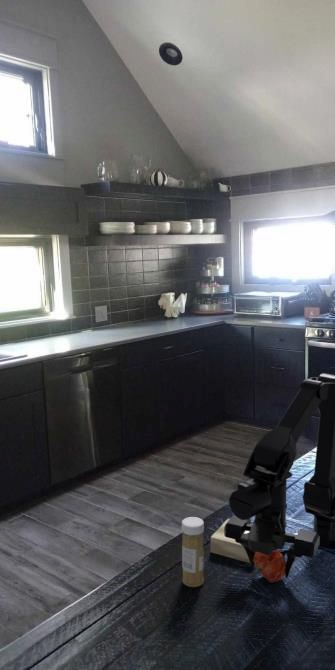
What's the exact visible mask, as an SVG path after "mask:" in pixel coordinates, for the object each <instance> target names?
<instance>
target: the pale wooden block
mask: <svg viewBox="0 0 335 670" xmlns="http://www.w3.org/2000/svg"><path fill="white" fill-rule="evenodd" d="M229 519H230V518H227V519H226V520H225V521H224V522H223V523H222V525H220V527H219V528H218V529H217V530H216V531H215V532H214V533H213V534H212V535H211V536H210V553H213V554H216V555H220V556H223V557H227V558H230V559H234V560H237V561H240V562H241V561H242V562H246V563H249V564H251V563H250V561H249V558H248V555H247V553H246V551H245V549H244V547H243V546H242V545H241V544H240V543H237V542H236V541H235V539H232V538H228V537H225V536H224V527H225V524H226V523H227V522H228V521H229ZM251 524H252V525H253V523H251Z"/></svg>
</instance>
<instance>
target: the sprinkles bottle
mask: <svg viewBox="0 0 335 670" xmlns="http://www.w3.org/2000/svg"><path fill="white" fill-rule="evenodd" d="M204 523H205V522H204V520H203V519H201V518H199V517H196V516H189V517H185V518H184V519H182V521H181V534H182V543H181V544H182V545H181V547H182V548H181V553H182V554H181V555H182V559H181V560H182V566H181V568H182V579H181V580H182V583H183V585H184V586H186V587H189V588H197V587H200V586H202V585H203V584H204V581H205V579H204V531H205V524H204Z"/></svg>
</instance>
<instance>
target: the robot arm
mask: <svg viewBox="0 0 335 670" xmlns="http://www.w3.org/2000/svg"><path fill="white" fill-rule="evenodd" d="M317 409H318V412H319V421H318V422H319V423H318V432H317V441H316V451H315V452H316V453H315V462H314V471H313V475H312V476H311V477H310V479H309V480H308V481H305V482H304V485H303V494H302V498H301V499H302V501H303V505H304V511H305V513H306V514H310V515H313V527H312V528H313V530H309V529H304V528H300V529H299V531H297V533H292V532H286V528H287V525H288V523H287V521H286V519H287V515H286V514H287V508H288V503H287V481H288V479H291V478H292V476H293V473H291V471H290V470H291V469H292V468H293V466H294V461H295V460H296V457H297V455H298V453H297V452H298V451H297V443H298V441H299V439H300V437H301V435H302V434H303V433H304V430H305V429H306V427H307V426H308V424H309V422H310V420H312V417H313V415H314V414H315V412H316V410H317ZM256 468H260V469H263V470H265V471H267V472H264V471H261V470H258V469H256ZM242 476H243V477H246V478H249V479H248V480H246V481H243V482H240V483H238V484H237V489H236V490H234V491H232V493H231V494H230V497H228V498H229V499H228V503H229V507H230V510H231V512H232V513H233V515H232V516H231V517H230V518H228V519H229V521H228V522H227V523H226V524H225V527H224V536H225V537H228V538H232V539H235V541H236V542H237V543H240V544H241V545H242V546H243V547H244V549H245V551H246V553H247V555H248V558H249V561H250V563H249V564H250V565H251V568H252V570H255V569H256V567H257V566H256V565H255V563H254V562H253V558H254V555H255V553H256V552H260V553H263V554H265V555H271V554H272V553H273V551H274V550H275V551H276V550H277V549H278V550H280V551H282V550H283V549H284V547H285V544H286V543H287V544H289V549H287V550H288V552H287V553H286V554H285V555H286V562H287V563H286V570H285V575H284V577H285V578H286V579H288V577H289V576H290V574H291V571H292V568H293V566H294V563H295V561H296V559H297V558H298V559H300V558H303V557H305V558H306V557H307V558H314V557H315V555H316V553H317V551H318V549H319V546H323V547H326V548H327V547H328V548H330V549H335V374H331V373H324V372H322V373H320V375H319V376H315V377H309V378H307V379H303V380H302V381H301V383H300V386H299V391H298V392H297V394H296V395H295V397H294V399H293V401H292V402H291V403H290V405H289V407H288V408H287V409H286V411H285V413H284V415H283V416H282V418H281V419H280V421H279V423H278V424H277V426H276V427H275V428H274V429H272V430H270V431H268V432H266V433H264V434H263V436H262V437H261V438H260V439H259V440H258V442H257V443H256V444H255V445H254V447H253V450H252V452H251V454H250V457H249V459H248V460H247V463H246V466H245V469H244V471H243V474H242ZM253 517H255V518H254V520H253V522H252V519H251V518H253ZM251 522H252V523H251ZM252 524H253V525H252Z"/></svg>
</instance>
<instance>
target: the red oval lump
mask: <svg viewBox="0 0 335 670" xmlns="http://www.w3.org/2000/svg"><path fill="white" fill-rule="evenodd" d="M288 550H289V549H285V550H283V551H282V550H280V549H277V550H276V551H275V550H274V551H273V553H272V554H271V555H265V554H263V553H260V552H256V553H255V555H254V558H253V562H254V563H255V565H256V567H257V569H258V570H257V571H256V572H254V573H253V574H251V575H250V576H249V578H252V577H254V576H256V575H257V574H258V573H260V574H261V576H263V578H265V579H266V580H267V582H268V583H271V584H273V583H277V582H279V581H281V580H282V579H283V578H284V577H285V570H286V563H287V559H286V558H285V556H286V555H287V554H286V553H287V552H288Z"/></svg>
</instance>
